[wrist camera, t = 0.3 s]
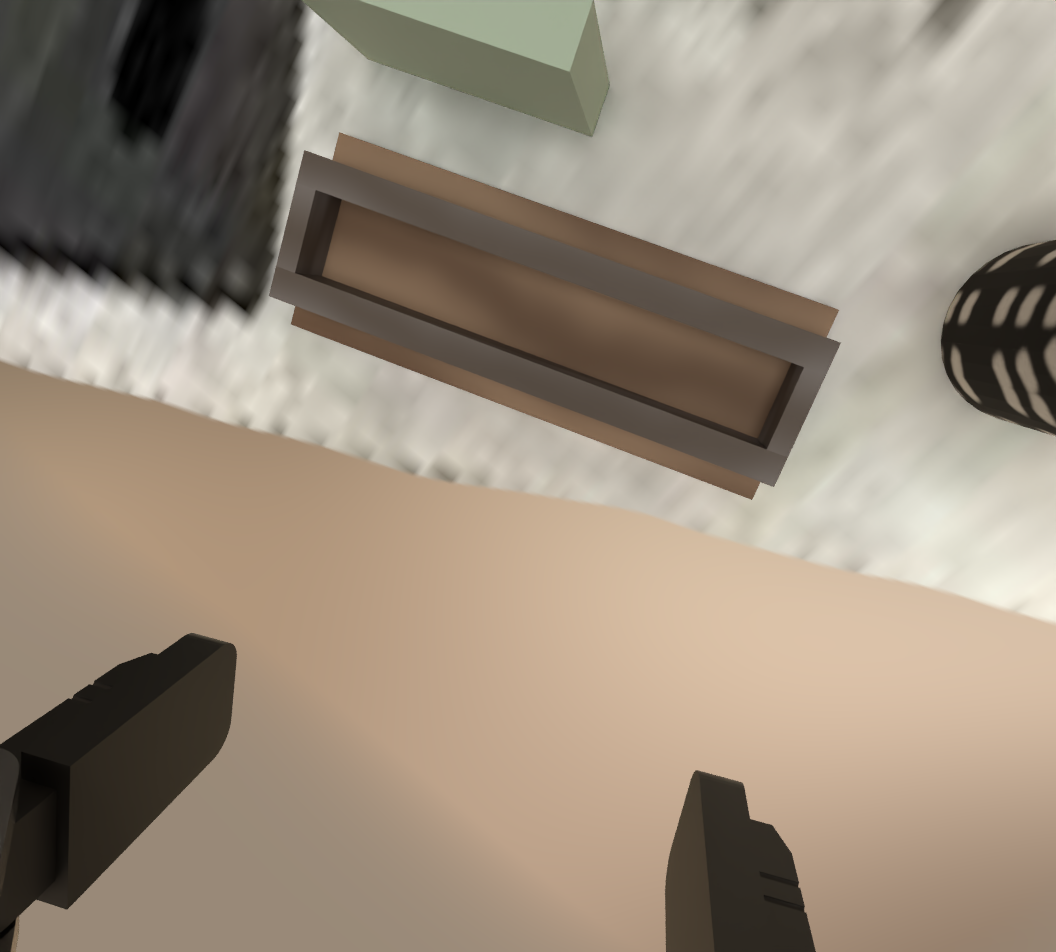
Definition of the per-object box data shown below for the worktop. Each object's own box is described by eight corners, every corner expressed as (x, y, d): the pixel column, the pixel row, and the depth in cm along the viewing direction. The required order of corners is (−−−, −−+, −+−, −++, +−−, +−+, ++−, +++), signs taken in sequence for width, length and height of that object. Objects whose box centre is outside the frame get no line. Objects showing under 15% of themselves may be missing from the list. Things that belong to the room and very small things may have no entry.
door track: (347, 136, 37) (312, 116, 33) (833, 309, 35) (855, 309, 31) (299, 323, 40) (261, 325, 36) (749, 495, 38) (760, 515, 34)
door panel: (381, 8, 36) (281, -104, 26) (609, 85, 35) (593, -2, 25) (368, 59, 36) (266, -32, 27) (591, 136, 35) (569, 71, 26)
